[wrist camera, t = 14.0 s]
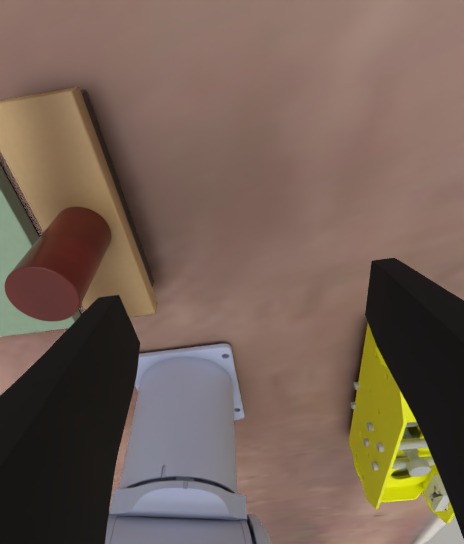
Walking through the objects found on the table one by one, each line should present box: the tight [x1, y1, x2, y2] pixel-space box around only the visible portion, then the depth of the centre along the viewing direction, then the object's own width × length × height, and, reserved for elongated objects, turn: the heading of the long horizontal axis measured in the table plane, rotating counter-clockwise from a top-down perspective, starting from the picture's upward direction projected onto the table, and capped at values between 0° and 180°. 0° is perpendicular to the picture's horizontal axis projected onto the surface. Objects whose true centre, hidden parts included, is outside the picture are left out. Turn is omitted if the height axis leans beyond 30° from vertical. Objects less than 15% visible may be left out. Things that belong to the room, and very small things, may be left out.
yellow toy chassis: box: [349, 324, 455, 523], centre depth 25 cm, size 16×6×8 cm, turn 7°
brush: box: [0, 87, 157, 321], centre depth 16 cm, size 4×12×8 cm, turn 8°
